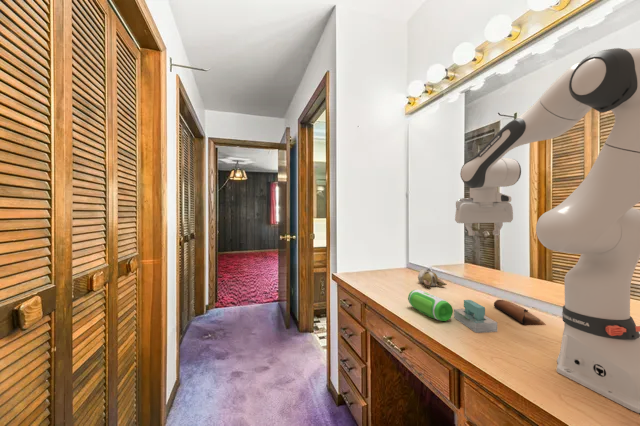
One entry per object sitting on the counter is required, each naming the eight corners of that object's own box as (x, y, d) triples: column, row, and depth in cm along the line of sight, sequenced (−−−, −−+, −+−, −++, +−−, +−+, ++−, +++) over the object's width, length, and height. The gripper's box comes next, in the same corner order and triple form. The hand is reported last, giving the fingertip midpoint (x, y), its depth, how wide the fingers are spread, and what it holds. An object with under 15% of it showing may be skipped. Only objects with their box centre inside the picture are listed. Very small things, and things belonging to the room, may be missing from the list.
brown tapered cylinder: (549, 325, 94) (538, 308, 94) (530, 336, 94) (519, 318, 94) (515, 307, 112) (506, 292, 112) (499, 316, 112) (490, 301, 112)
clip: (485, 328, 92) (484, 307, 92) (478, 329, 92) (477, 307, 92) (470, 319, 100) (470, 299, 100) (464, 319, 100) (463, 300, 100)
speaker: (454, 321, 99) (454, 300, 99) (436, 324, 97) (436, 302, 97) (422, 305, 116) (422, 287, 116) (407, 307, 114) (406, 289, 113)
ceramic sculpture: (430, 265, 154) (448, 272, 140) (430, 281, 155) (447, 290, 140) (412, 266, 152) (428, 274, 137) (412, 282, 153) (428, 291, 138)
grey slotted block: (497, 331, 90) (497, 322, 90) (475, 332, 89) (475, 323, 89) (472, 316, 103) (472, 308, 102) (454, 317, 102) (453, 309, 102)
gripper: (460, 197, 101) (461, 236, 101) (515, 197, 102) (516, 235, 102) (451, 198, 107) (452, 235, 107) (503, 197, 108) (504, 234, 108)
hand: (483, 235), depth 105 cm, fingers open, 8 cm apart
